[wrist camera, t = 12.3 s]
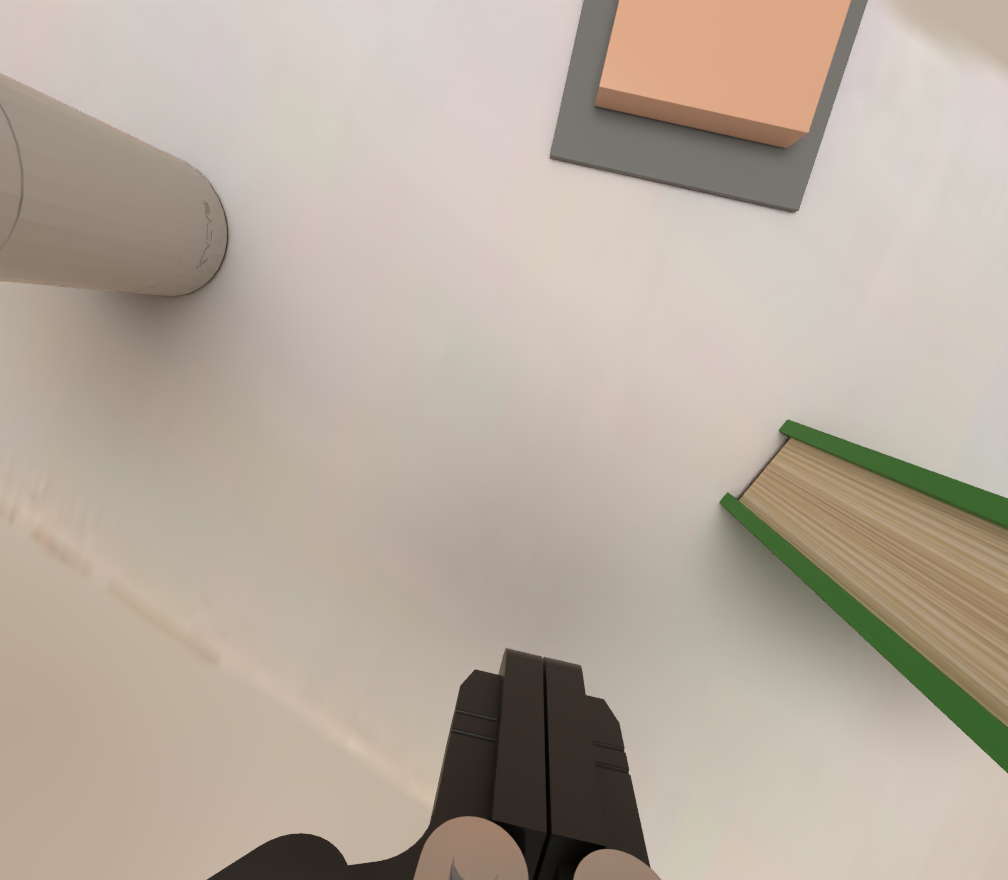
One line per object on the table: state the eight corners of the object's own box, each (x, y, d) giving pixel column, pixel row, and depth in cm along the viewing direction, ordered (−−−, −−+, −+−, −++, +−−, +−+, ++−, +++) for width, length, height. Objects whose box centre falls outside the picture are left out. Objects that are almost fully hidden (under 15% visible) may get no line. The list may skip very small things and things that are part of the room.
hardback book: (719, 502, 37) (1045, 808, 13) (787, 419, 35) (1294, 601, 12) (906, 629, 38) (1506, 1113, 15) (980, 554, 36) (1787, 962, 13)
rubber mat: (549, 157, 32) (550, 154, 32) (630, -209, 28) (632, -220, 28) (793, 212, 32) (798, 210, 32) (911, -148, 28) (919, -158, 27)
